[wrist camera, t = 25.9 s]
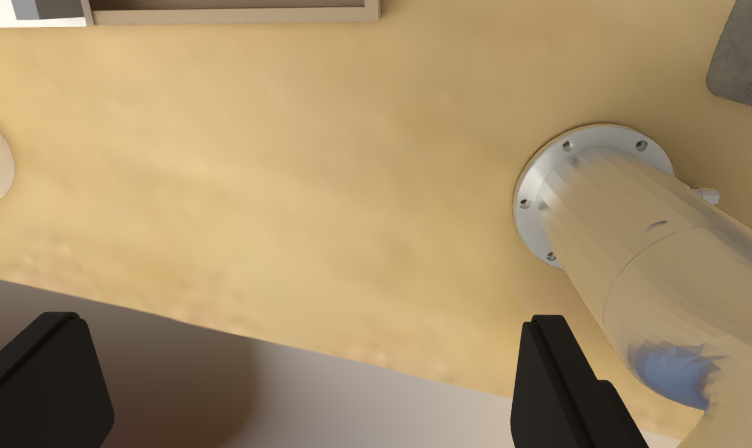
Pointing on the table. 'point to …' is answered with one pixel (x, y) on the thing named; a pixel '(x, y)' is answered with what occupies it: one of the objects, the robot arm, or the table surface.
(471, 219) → the table surface
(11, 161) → the base with upright slab
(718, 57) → the grey flat upright block
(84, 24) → the lid
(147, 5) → the tray
